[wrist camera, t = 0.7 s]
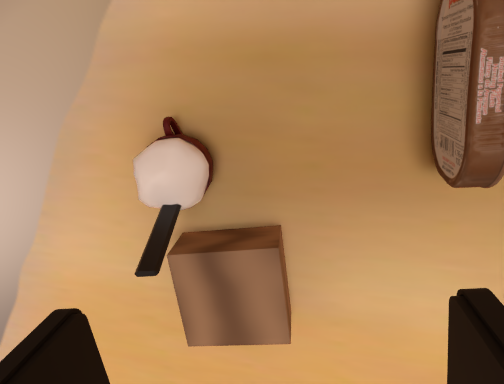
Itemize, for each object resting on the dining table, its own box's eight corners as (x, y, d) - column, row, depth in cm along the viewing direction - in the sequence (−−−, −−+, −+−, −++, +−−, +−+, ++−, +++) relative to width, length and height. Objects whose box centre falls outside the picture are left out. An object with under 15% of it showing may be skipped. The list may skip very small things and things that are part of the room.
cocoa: (166, 110, 32) (89, 119, 21) (231, 129, 32) (189, 149, 20) (148, 203, 35) (72, 256, 24) (207, 222, 35) (159, 285, 23)
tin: (459, 170, 30) (517, 204, 22) (421, 173, 31) (464, 207, 23) (473, -26, 26) (551, -71, 18) (428, -19, 26) (485, -60, 18)
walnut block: (280, 224, 34) (278, 247, 30) (291, 310, 37) (290, 344, 33) (183, 231, 36) (166, 255, 31) (201, 313, 39) (188, 346, 34)
